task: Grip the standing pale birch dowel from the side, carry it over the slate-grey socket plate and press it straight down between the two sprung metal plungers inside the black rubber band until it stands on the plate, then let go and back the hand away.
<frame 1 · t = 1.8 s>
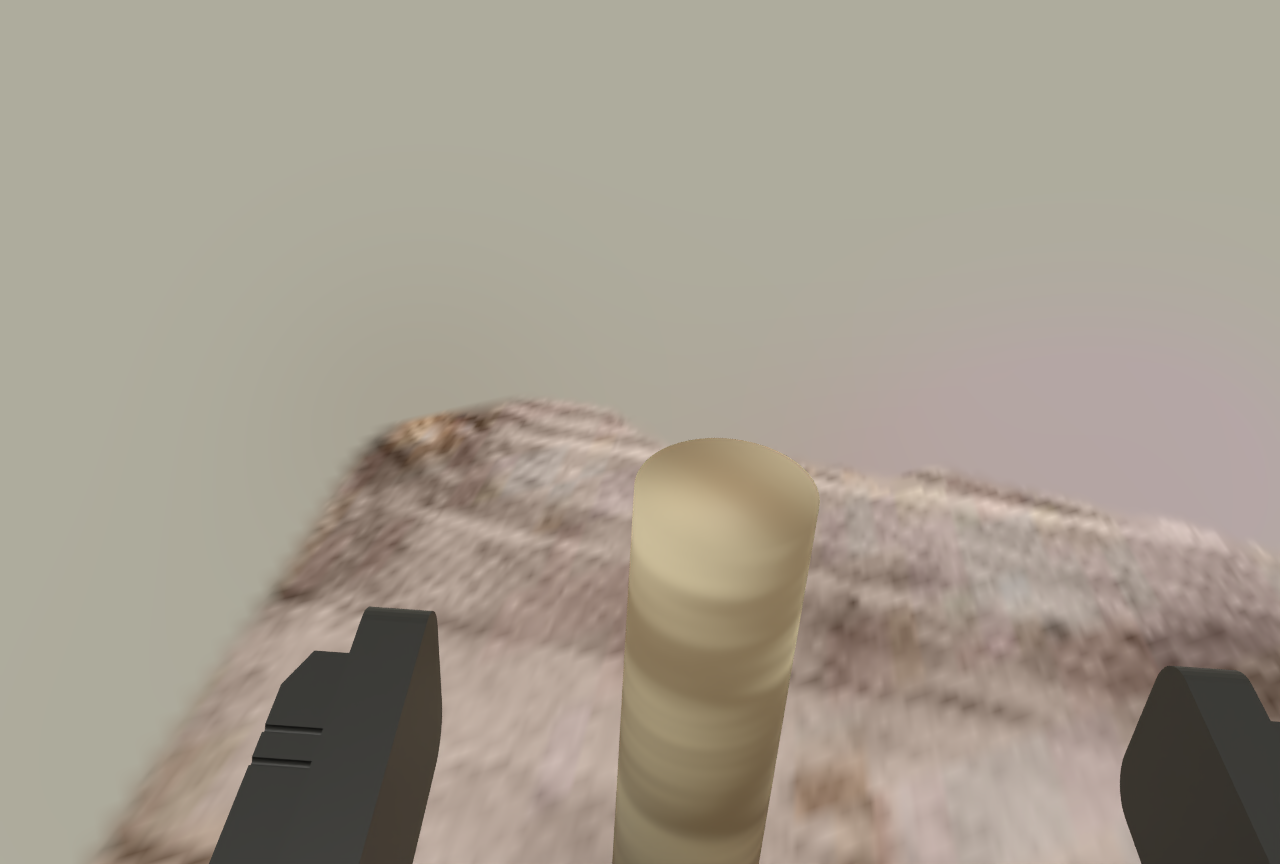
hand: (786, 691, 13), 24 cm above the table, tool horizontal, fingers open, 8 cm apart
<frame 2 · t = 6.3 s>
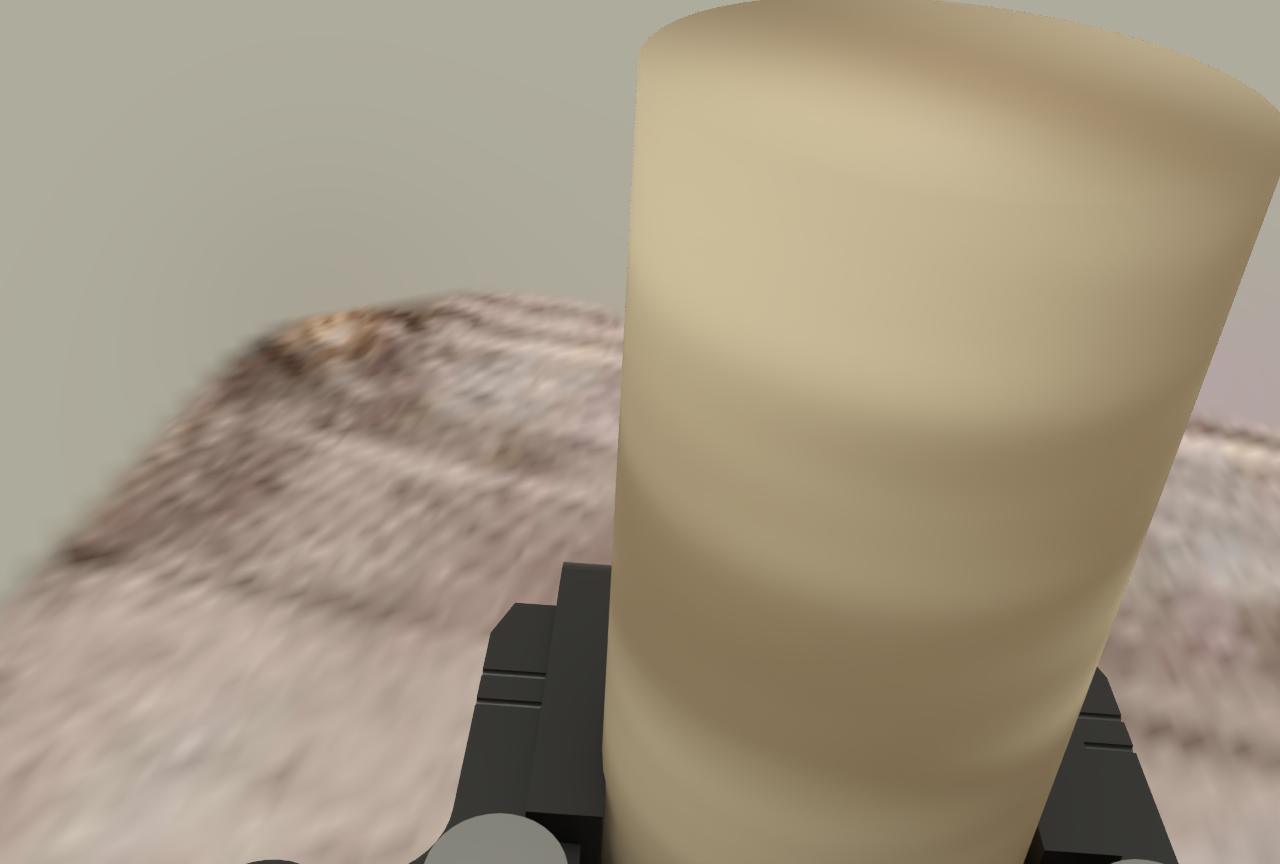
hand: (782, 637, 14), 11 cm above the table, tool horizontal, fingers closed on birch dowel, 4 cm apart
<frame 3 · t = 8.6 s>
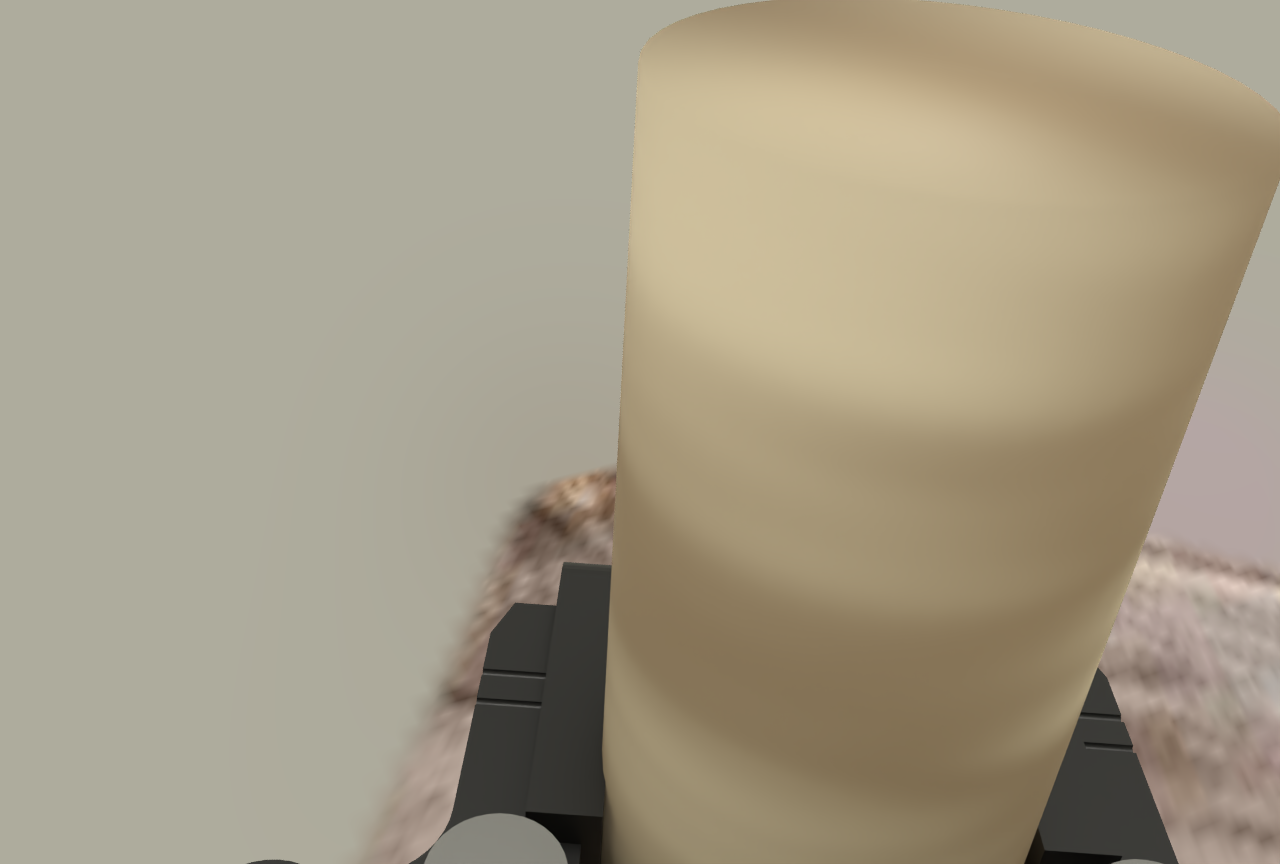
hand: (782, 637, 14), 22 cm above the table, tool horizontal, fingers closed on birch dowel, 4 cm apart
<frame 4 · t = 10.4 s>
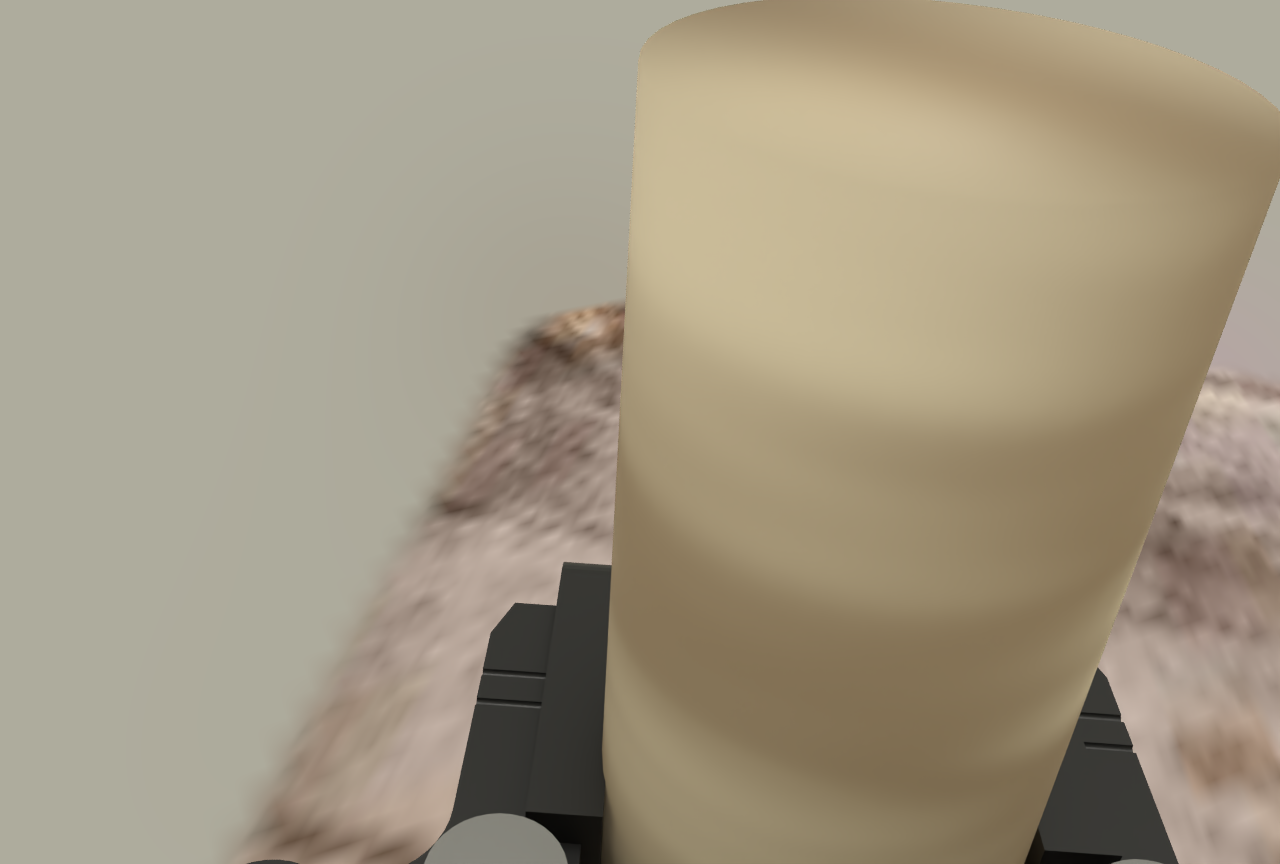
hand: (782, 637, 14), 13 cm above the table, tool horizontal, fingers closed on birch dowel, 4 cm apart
when the fingers open (12 cm above the table, at t = 11.1 s): birch dowel stays where it is, resting on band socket.
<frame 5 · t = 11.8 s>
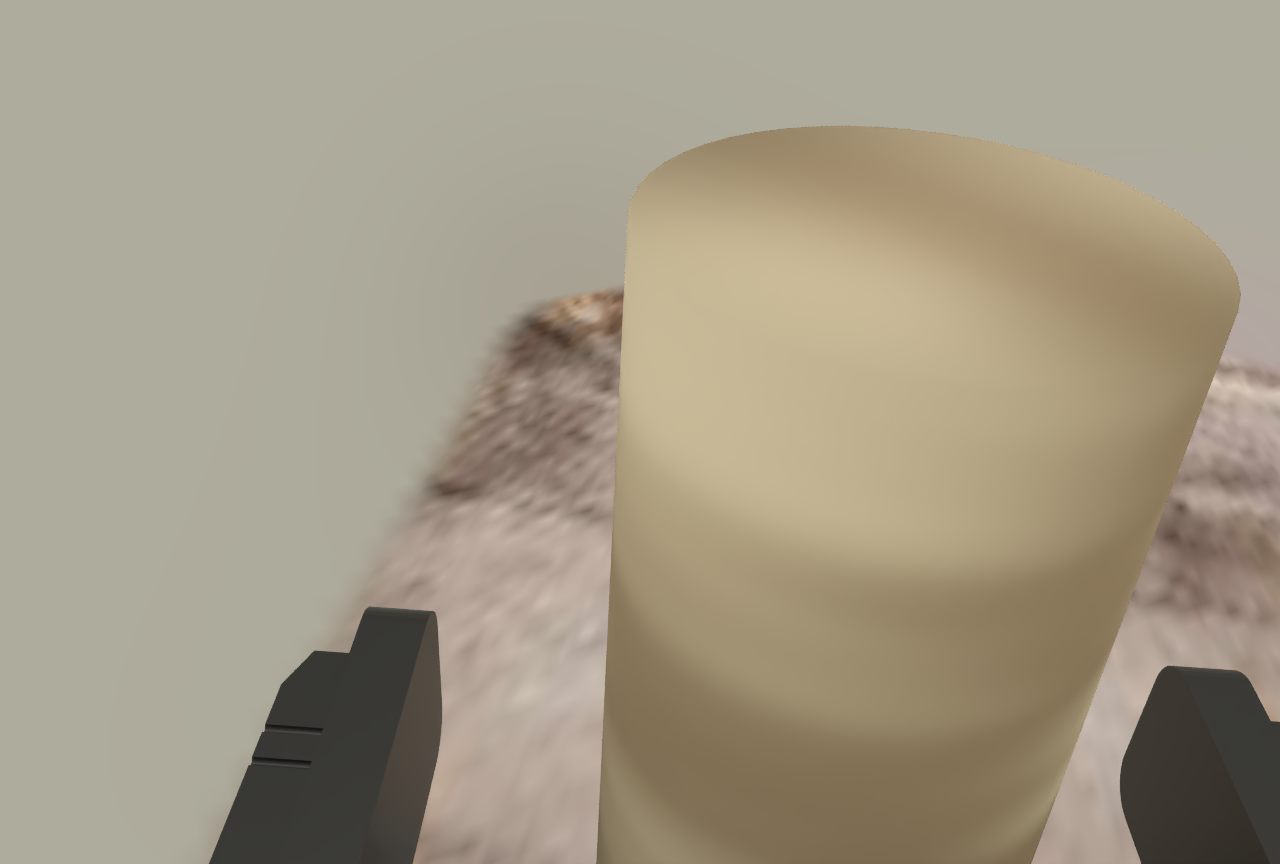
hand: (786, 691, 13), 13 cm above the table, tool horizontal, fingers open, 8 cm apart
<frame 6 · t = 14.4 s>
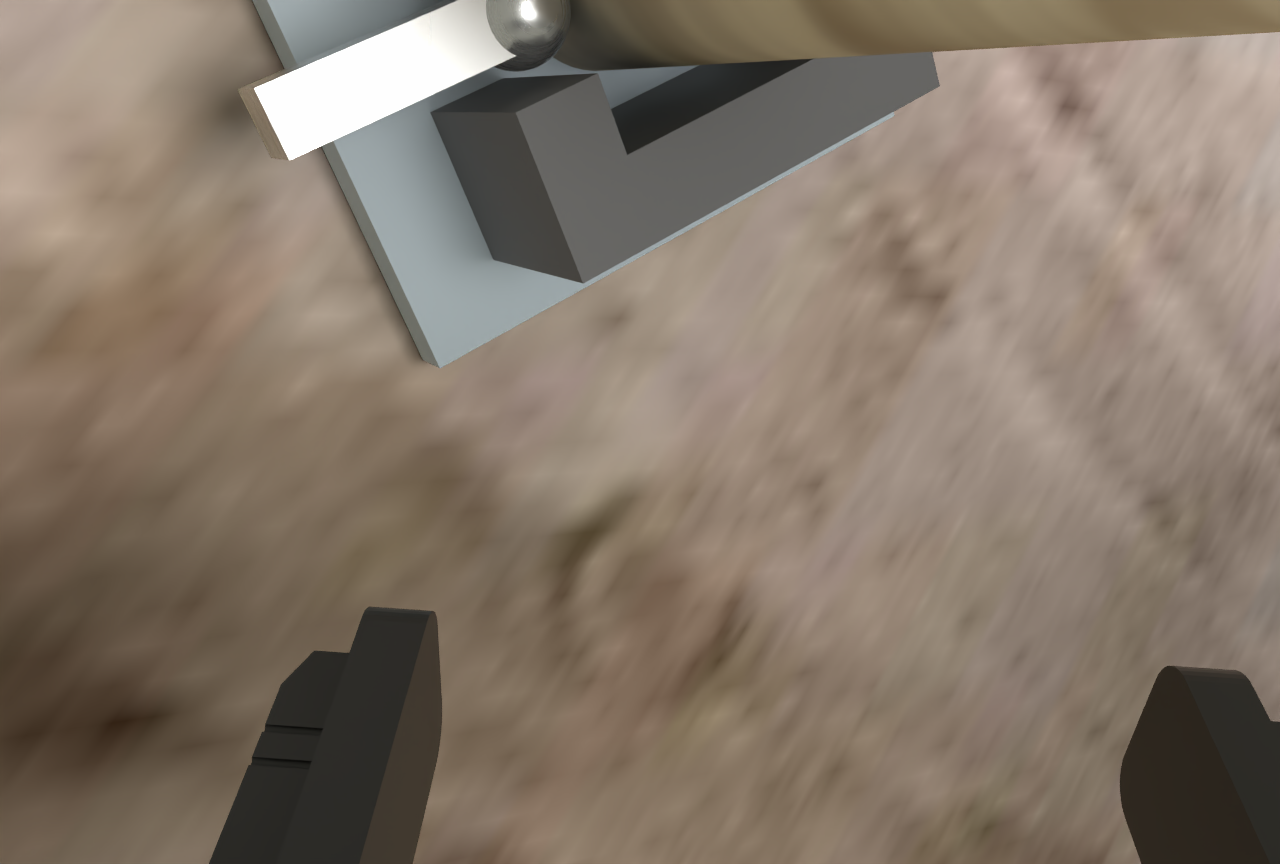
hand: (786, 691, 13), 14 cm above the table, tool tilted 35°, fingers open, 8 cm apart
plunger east: (419, 54, 20), point 4 cm above the table, slide at 0.4 cm
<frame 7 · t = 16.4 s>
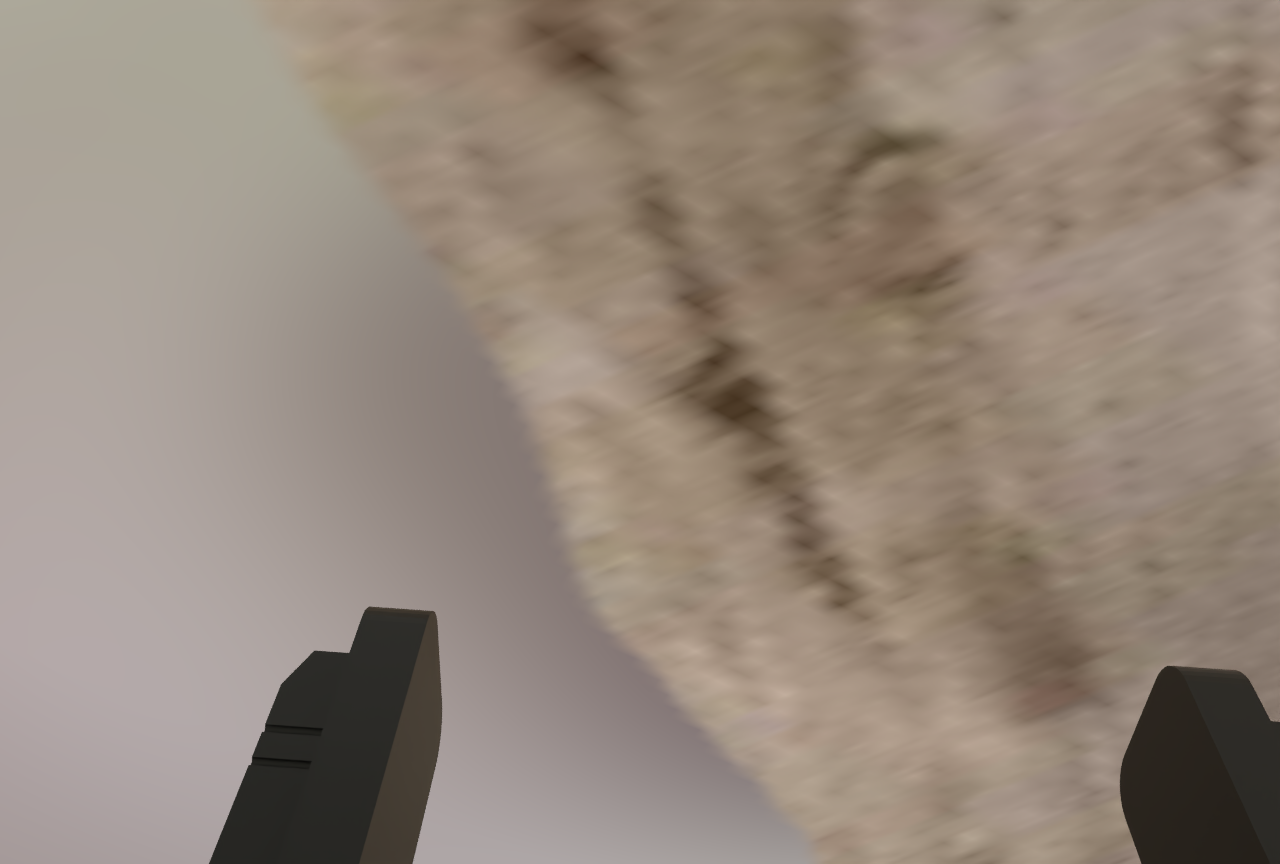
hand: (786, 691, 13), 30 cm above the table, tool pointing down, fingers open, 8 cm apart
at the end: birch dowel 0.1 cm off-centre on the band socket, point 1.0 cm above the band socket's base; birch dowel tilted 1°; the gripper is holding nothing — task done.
